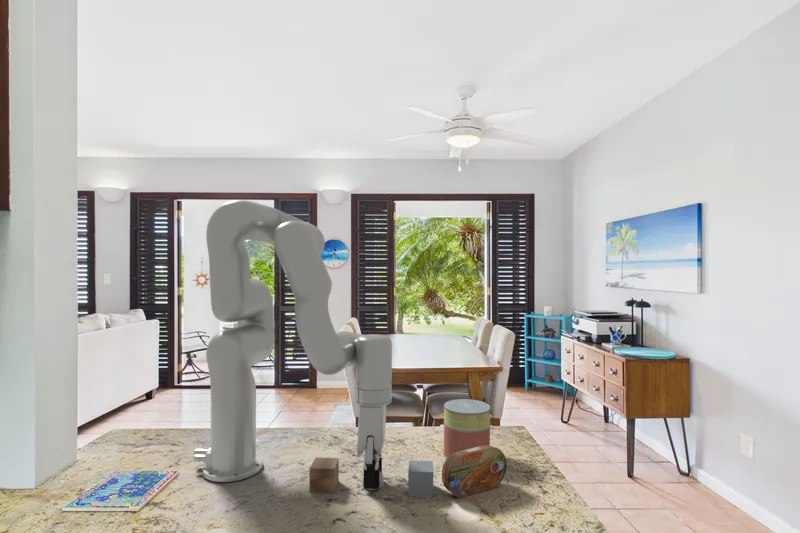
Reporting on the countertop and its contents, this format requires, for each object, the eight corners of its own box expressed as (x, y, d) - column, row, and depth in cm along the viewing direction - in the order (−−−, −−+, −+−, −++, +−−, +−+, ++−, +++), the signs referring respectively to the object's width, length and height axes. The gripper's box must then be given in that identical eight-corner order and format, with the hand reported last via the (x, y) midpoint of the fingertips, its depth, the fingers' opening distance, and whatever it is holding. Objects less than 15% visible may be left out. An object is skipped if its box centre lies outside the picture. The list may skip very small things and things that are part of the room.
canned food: (500, 457, 108) (500, 407, 108) (465, 469, 101) (465, 416, 101) (467, 442, 117) (468, 396, 117) (434, 452, 111) (434, 403, 111)
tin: (447, 502, 87) (448, 459, 87) (439, 494, 90) (439, 452, 90) (507, 485, 94) (507, 445, 94) (497, 478, 97) (498, 440, 97)
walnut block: (309, 492, 91) (309, 467, 91) (315, 480, 96) (315, 457, 96) (333, 493, 90) (334, 468, 90) (338, 481, 95) (338, 458, 95)
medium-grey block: (408, 496, 89) (408, 471, 89) (408, 484, 94) (409, 460, 94) (433, 497, 89) (433, 472, 89) (432, 485, 94) (432, 461, 94)
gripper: (361, 383, 102) (360, 463, 102) (348, 406, 85) (348, 502, 85) (394, 384, 101) (393, 464, 102) (388, 408, 85) (387, 504, 85)
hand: (372, 481), depth 93 cm, fingers closed on rook chess piece, 4 cm apart
